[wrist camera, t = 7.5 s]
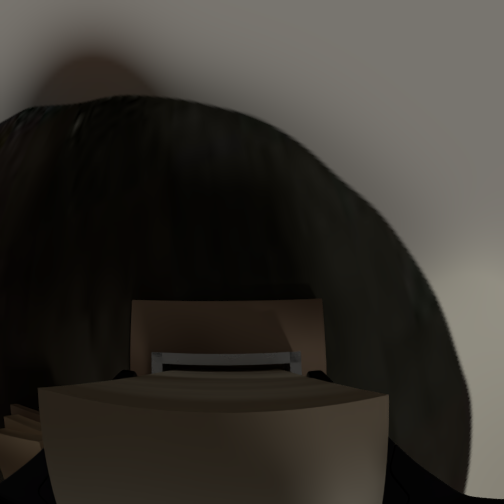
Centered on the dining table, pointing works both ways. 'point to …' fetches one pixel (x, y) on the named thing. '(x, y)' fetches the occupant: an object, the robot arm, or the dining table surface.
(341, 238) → the dining table surface
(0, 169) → the dining table surface
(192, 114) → the dining table surface
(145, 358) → the rack
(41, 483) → the robot arm
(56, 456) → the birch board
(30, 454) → the upper offcut
